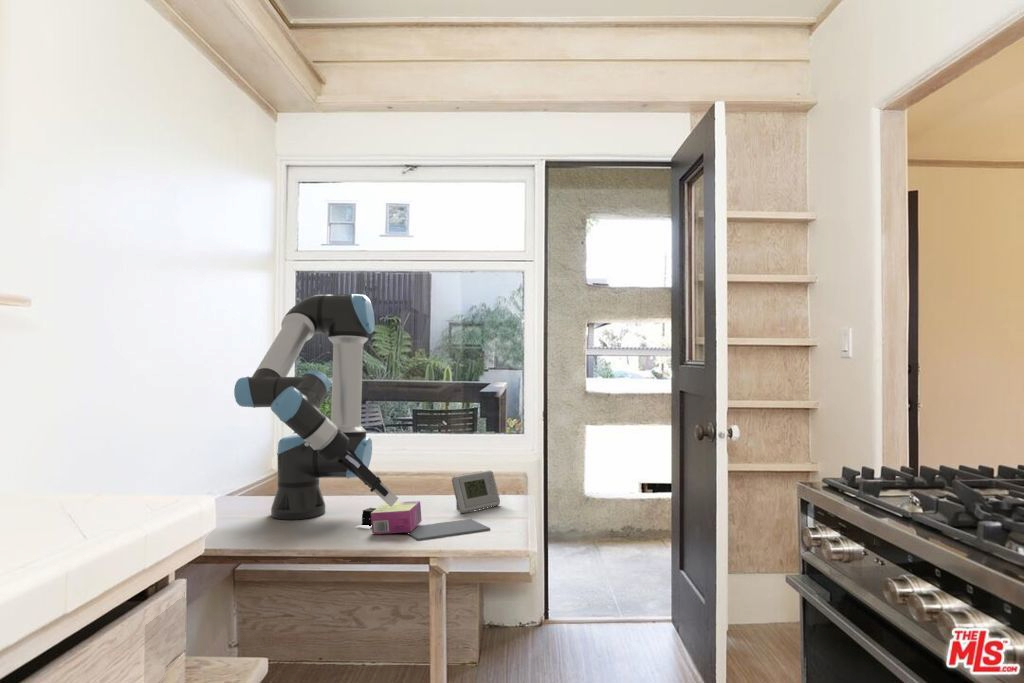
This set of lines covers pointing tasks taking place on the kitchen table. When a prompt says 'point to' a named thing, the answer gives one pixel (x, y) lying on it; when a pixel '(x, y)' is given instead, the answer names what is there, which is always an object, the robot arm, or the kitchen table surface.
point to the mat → (447, 529)
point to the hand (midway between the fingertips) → (393, 501)
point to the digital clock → (475, 491)
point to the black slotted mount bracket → (367, 516)
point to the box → (396, 517)
